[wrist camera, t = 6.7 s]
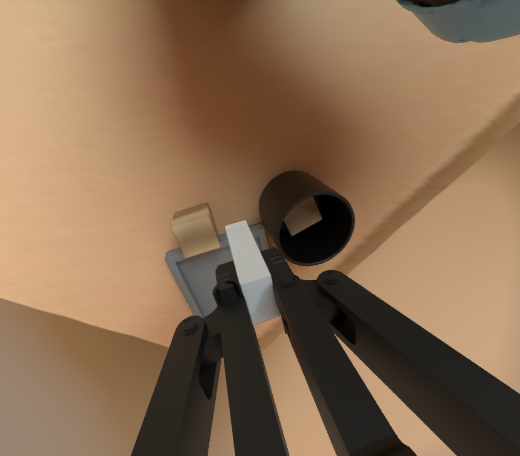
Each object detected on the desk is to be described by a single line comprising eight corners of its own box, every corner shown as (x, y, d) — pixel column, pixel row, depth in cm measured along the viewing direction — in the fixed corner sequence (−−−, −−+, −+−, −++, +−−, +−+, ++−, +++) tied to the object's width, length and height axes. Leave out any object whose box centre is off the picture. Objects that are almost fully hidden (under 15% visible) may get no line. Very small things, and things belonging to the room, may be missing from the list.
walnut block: (268, 196, 34) (277, 208, 30) (297, 180, 33) (310, 190, 30) (281, 221, 36) (291, 236, 32) (308, 206, 36) (322, 219, 32)
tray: (166, 252, 35) (164, 259, 33) (261, 222, 36) (264, 228, 34) (206, 329, 43) (206, 338, 41) (282, 303, 44) (285, 311, 42)
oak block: (174, 212, 32) (171, 227, 28) (207, 202, 33) (208, 216, 29) (187, 240, 35) (185, 258, 31) (218, 230, 35) (220, 247, 31)
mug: (300, 250, 40) (326, 287, 32) (244, 208, 34) (258, 240, 26) (343, 206, 38) (381, 234, 30) (291, 155, 32) (320, 172, 24)
